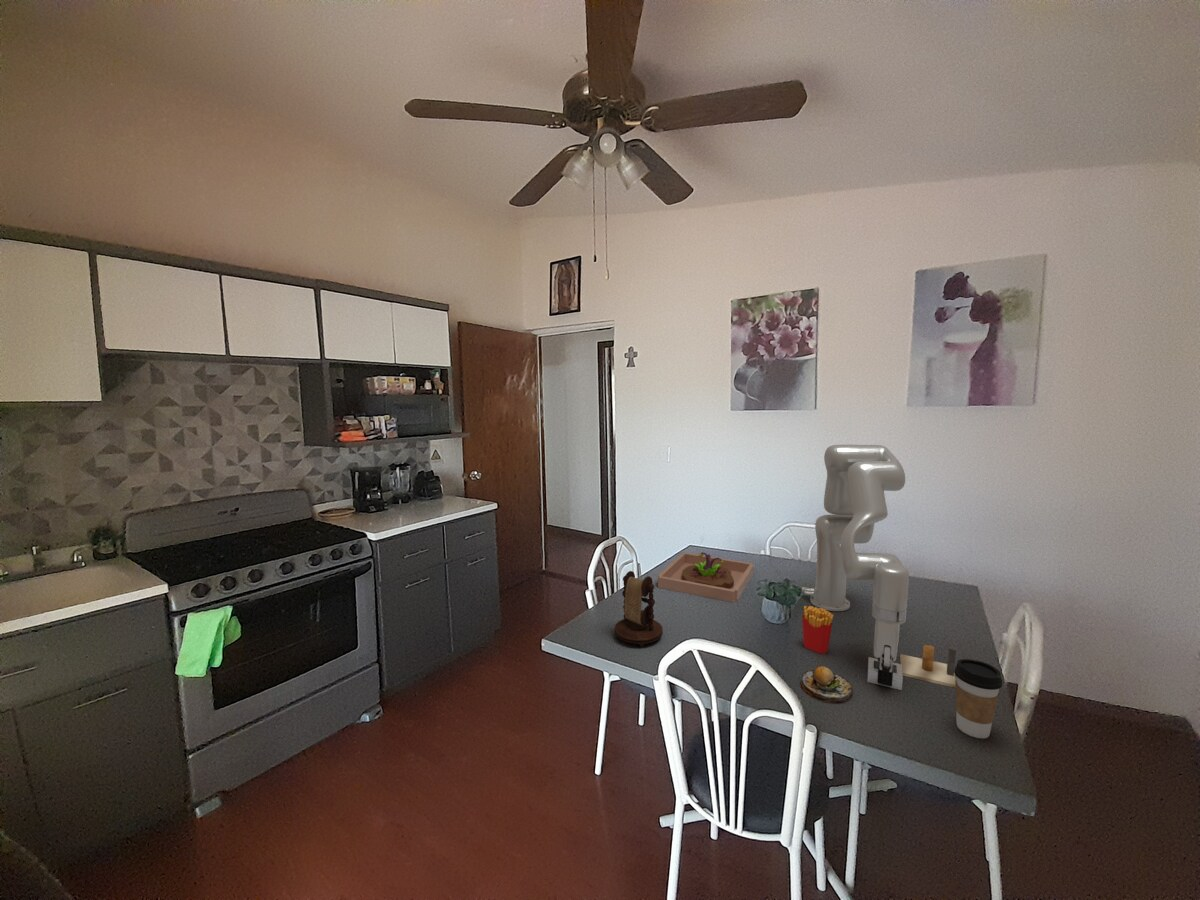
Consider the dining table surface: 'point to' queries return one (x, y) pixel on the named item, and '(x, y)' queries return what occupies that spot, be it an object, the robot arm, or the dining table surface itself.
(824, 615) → the french fries
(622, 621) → the scroll
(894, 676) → the link
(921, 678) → the keeper
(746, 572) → the plant saucer
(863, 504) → the robot arm
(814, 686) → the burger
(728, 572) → the plant
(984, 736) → the coffee cup
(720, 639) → the dining table surface
